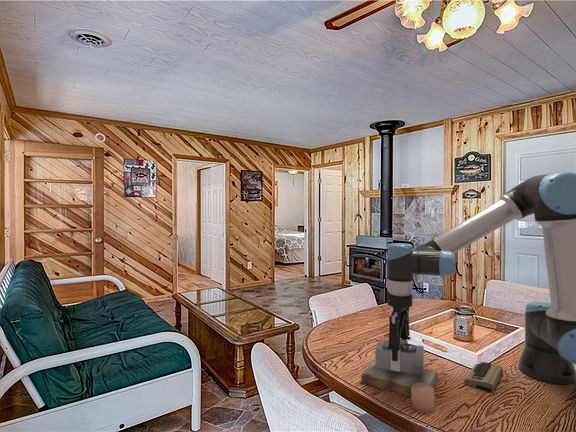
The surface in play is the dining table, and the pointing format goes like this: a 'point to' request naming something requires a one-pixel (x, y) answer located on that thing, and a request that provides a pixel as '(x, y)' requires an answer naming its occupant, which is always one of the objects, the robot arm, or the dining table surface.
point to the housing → (401, 357)
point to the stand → (397, 379)
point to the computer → (484, 376)
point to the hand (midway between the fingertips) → (399, 364)
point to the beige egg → (422, 397)
